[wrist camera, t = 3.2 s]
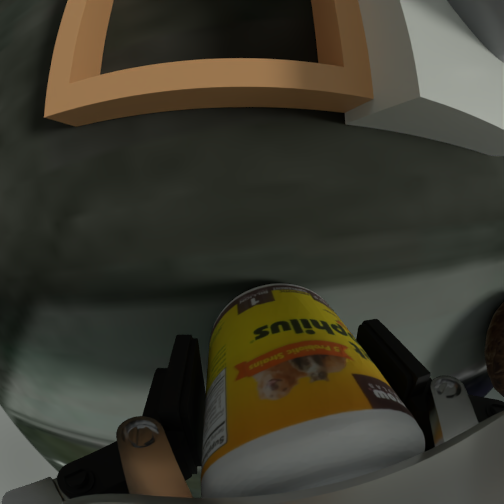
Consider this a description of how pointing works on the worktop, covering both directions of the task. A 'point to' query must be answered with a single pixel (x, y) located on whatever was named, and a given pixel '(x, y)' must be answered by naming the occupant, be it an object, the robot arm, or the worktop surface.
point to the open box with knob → (314, 71)
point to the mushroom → (496, 350)
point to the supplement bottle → (295, 400)
